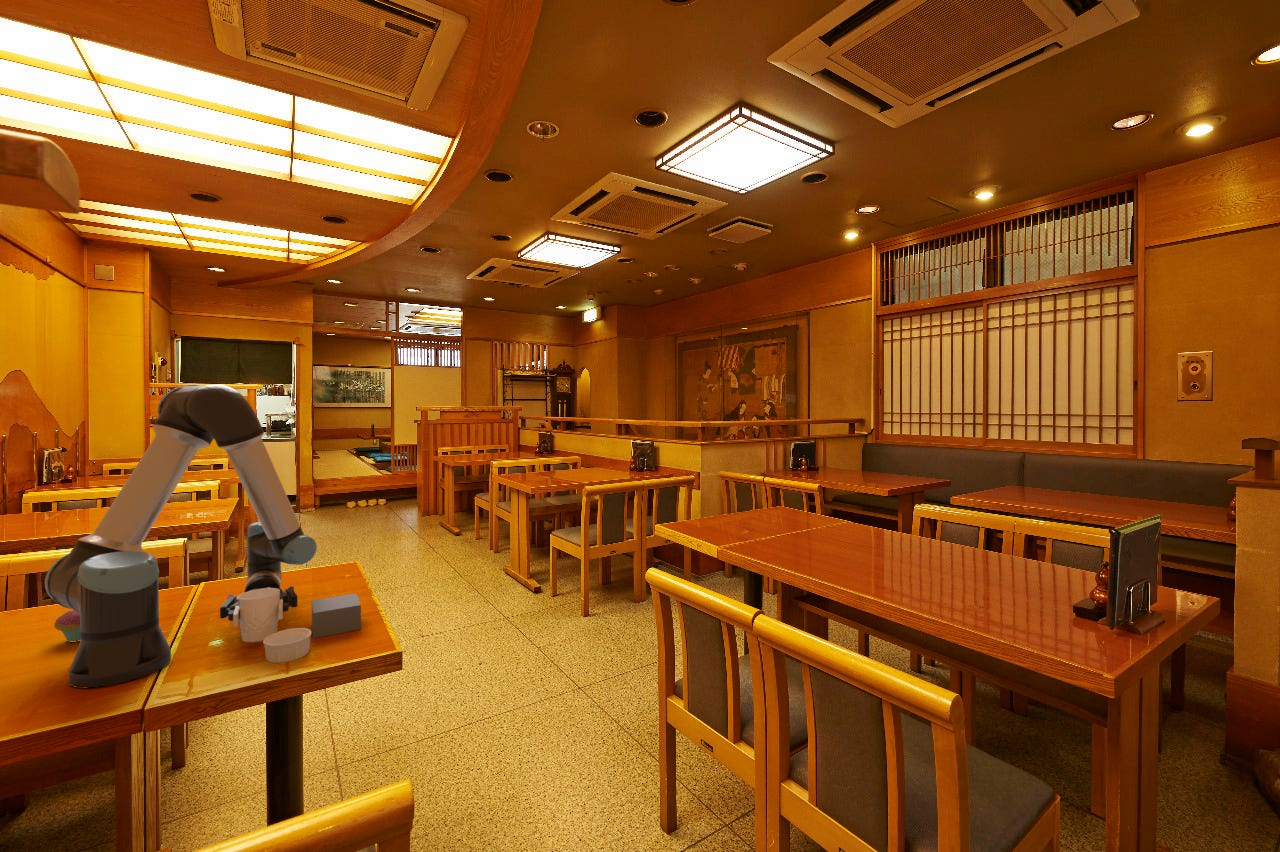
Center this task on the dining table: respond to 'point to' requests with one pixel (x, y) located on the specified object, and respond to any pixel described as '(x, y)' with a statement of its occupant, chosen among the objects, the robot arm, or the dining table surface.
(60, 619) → the cupcake
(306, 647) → the ramekin
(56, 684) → the dining table surface
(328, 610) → the gray rectangular block
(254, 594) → the white cup
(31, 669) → the dining table surface
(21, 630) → the dining table surface
